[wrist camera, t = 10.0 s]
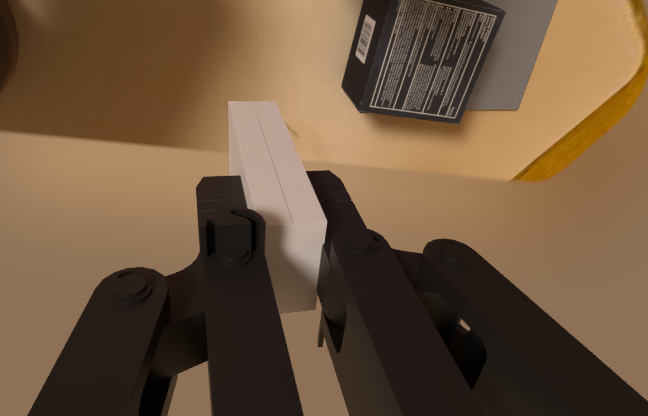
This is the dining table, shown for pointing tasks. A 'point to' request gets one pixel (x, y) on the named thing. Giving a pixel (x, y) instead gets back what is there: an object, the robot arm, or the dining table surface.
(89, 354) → the robot arm
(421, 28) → the small box
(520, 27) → the mat
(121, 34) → the dining table surface
